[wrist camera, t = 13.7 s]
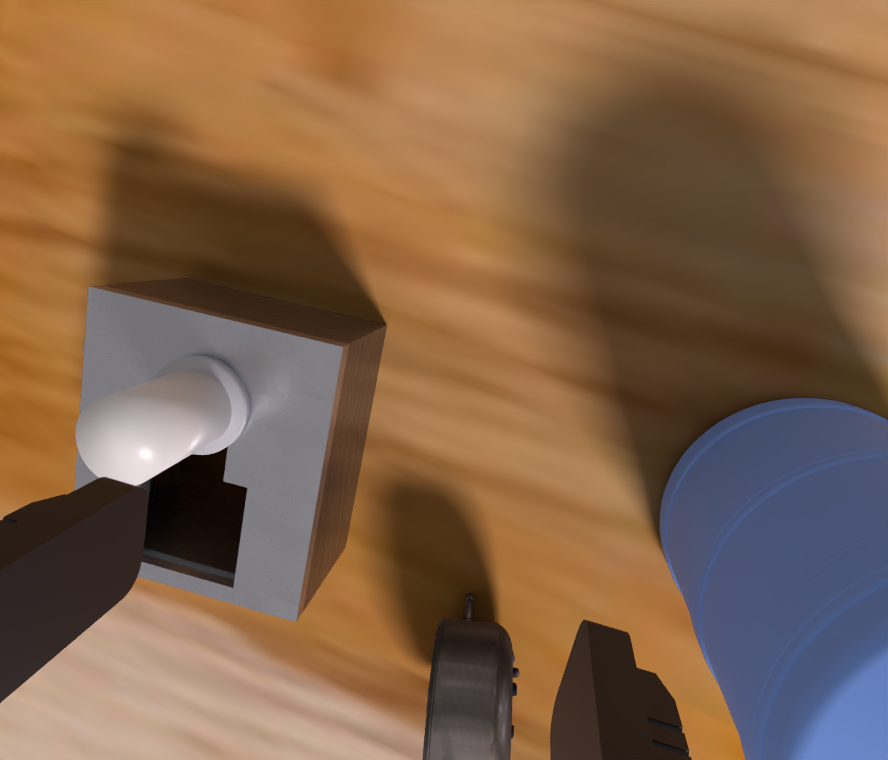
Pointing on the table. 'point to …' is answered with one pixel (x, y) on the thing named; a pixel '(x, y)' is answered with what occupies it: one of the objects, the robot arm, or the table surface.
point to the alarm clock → (470, 691)
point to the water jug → (789, 573)
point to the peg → (163, 420)
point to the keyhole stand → (245, 434)
